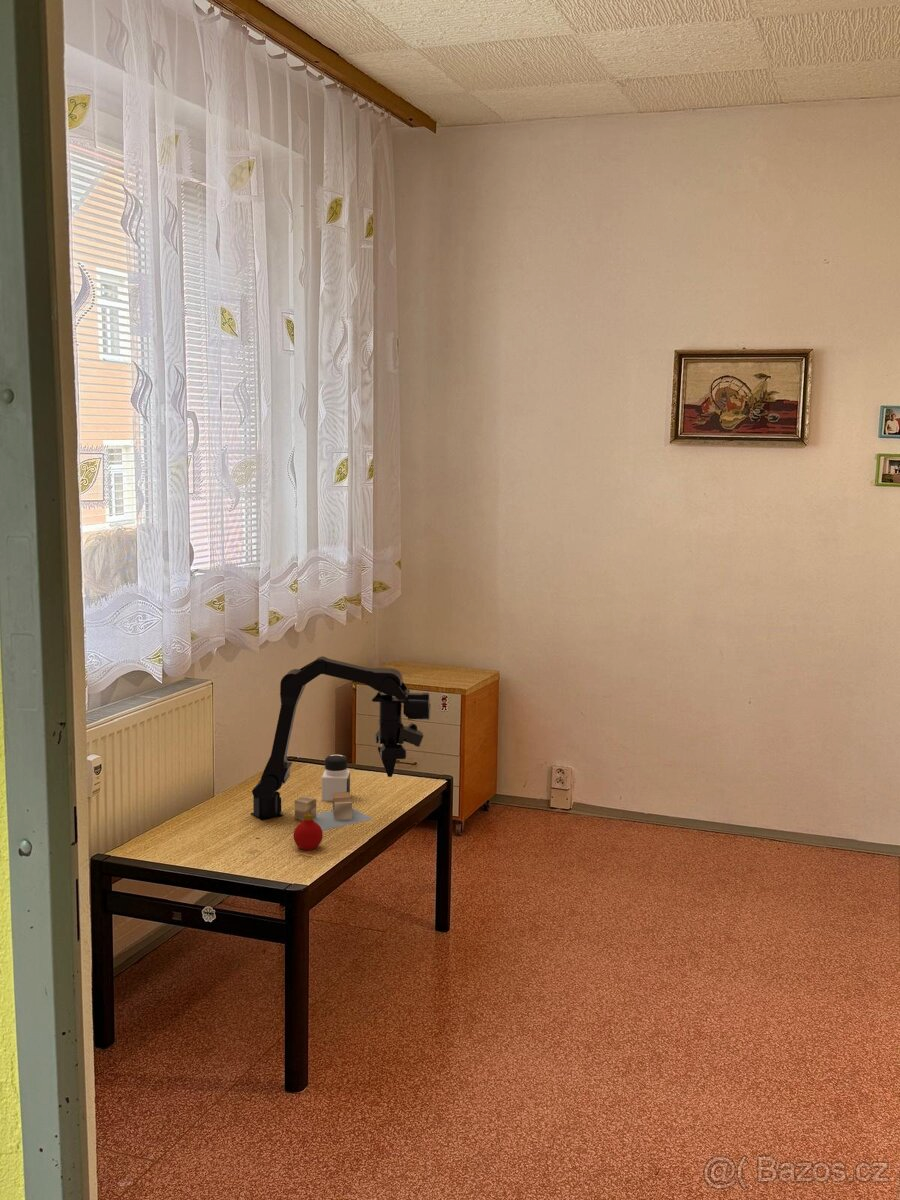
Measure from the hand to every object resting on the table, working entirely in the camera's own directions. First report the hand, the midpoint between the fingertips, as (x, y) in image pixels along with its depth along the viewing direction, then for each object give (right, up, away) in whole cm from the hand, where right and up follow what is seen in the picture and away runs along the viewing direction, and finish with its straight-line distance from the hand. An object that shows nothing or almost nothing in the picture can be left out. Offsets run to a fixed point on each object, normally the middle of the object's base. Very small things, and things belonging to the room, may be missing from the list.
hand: (389, 776), depth 297 cm
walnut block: (-12, -9, +1) cm, 15 cm away
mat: (-14, -12, +2) cm, 19 cm away
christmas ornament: (-19, -15, -19) cm, 31 cm away
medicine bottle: (-16, -9, +20) cm, 27 cm away
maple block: (-22, -11, +2) cm, 25 cm away
